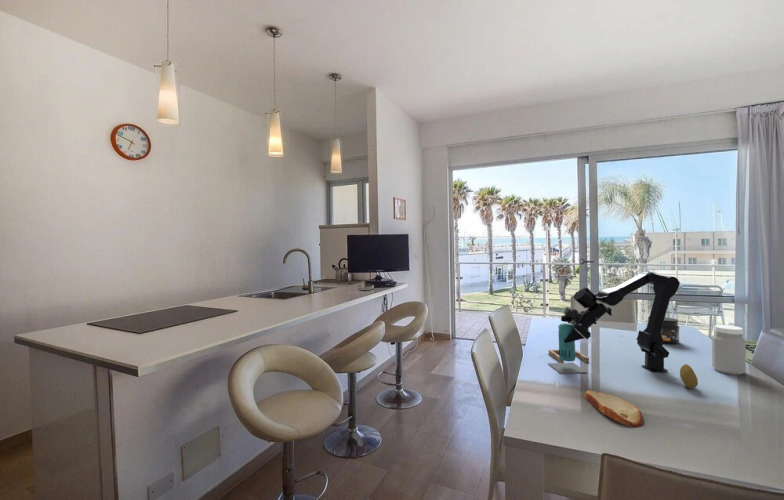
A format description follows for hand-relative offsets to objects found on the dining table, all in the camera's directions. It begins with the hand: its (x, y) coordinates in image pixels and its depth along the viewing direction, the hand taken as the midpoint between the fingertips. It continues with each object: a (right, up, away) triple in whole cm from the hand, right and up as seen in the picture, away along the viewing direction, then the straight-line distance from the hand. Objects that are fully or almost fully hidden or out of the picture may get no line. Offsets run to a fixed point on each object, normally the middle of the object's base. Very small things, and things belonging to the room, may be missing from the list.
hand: (563, 339), depth 149 cm
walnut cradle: (+8, -12, +13) cm, 19 cm away
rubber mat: (+1, -12, 0) cm, 12 cm away
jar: (+63, -11, -7) cm, 65 cm away
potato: (+35, -12, -21) cm, 43 cm away
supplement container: (+70, -10, +34) cm, 79 cm away
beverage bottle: (+2, -10, 0) cm, 10 cm away
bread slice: (-2, -14, -36) cm, 39 cm away
